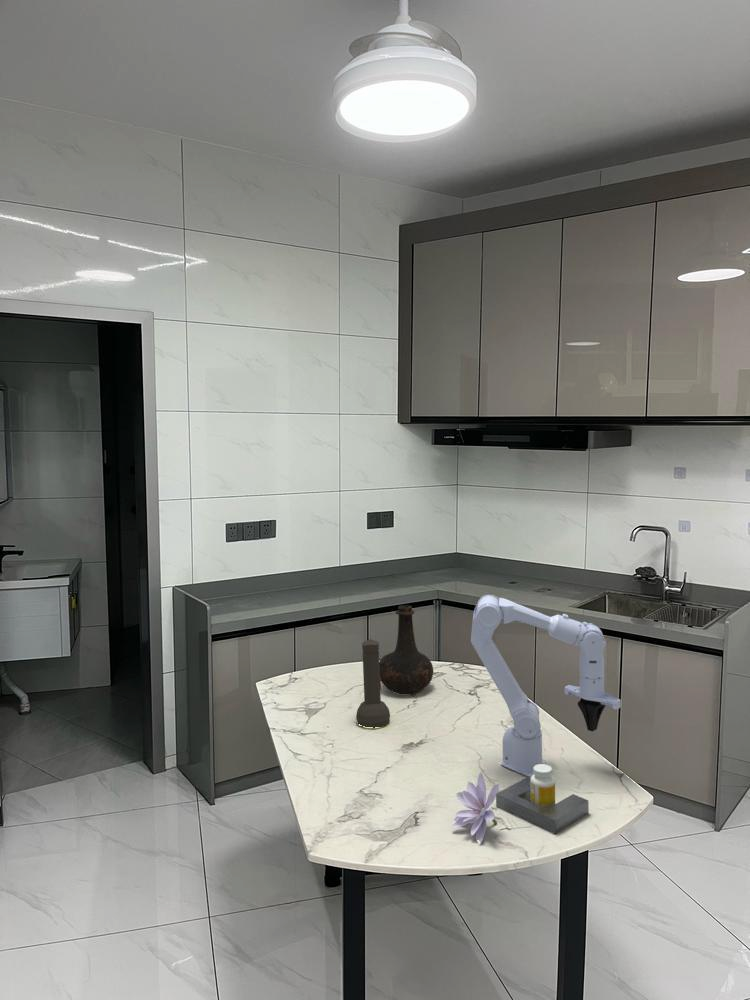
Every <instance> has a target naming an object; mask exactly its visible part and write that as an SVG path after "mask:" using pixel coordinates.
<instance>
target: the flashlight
mask: <svg viewBox="0 0 750 1000" xmlns="http://www.w3.org/2000/svg"><path fill="white" fill-rule="evenodd" d="M361 646H362V648H361V649H362V669H363V670H362V674H363V693H364V694H363V696H364V697H363V698H364V699H363V700H364V701H361V703H360V705H359V706H358V708H357V710H356V715H355V719H356V722H358V724H360V725H362V726H365V727H373V728H375V727H382V726H385V727H387V726H388V725H389V724H390V718H391V713H390V709H389V707H388V706H387V704H386V703H385V702H384V701H383V700H381V697H382V695H381V694H382V693H381V688H382V682H381V678H380V667H379V662H380V651H379V650H380V648H379V647H380V646H379V641H377V640H374V639H371V638H369V639H368V640H365V641H363V642H362V644H361ZM358 724H357V725H358ZM387 724H388V725H387ZM386 725H387V726H386ZM382 728H383V727H382Z"/></svg>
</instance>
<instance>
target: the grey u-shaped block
mask: <svg viewBox="0 0 750 1000" xmlns="http://www.w3.org/2000/svg"><path fill="white" fill-rule="evenodd" d="M530 779H531V776H529V777H528V776H526V777H525V778H523V779H521V780H519V781H518V782H515V783H513V784H511V785H509V786H508V787H506V788H504V789H502V790H500V791H498V792H497V795H496V797H495V801H496V802H495V806H496V807H497V808H498V809H500V810H503V811H505V812H507V813H510V814H512V815H514V816H516V817H518V818H520V819H523V820H525V821H526V822H528V823H530V824H533V825H535V826H537V827H538V828H539V827H540V828H541V829H543V830H546V831H548V832H549V833H552V834H554V835H556V834H558V833H559V832H561V831H563V830H565V829H566V828H568V827H570V826H571V825H573V824H574V823H576V822H577V821H579V820H580V819H582V818H584V817H585V816H587V815H588V814H589V810H590V807H589V800H588V799H586V798H583V797H582V796H579V795H576V794H575V793H572V794H571V795H569V796H567V797H565V798H563V799H562V800H560V801H559V802H556V803H555V805H553V806H551V807H550V808H548V809H545V808H543V807H541V806H538V805H536V804H534V803H532V802H531V799H530V798H531V795H530Z"/></svg>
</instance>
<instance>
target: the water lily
mask: <svg viewBox="0 0 750 1000" xmlns="http://www.w3.org/2000/svg"><path fill="white" fill-rule="evenodd" d="M476 784H477V785H476ZM476 784H474V783H473V782H472V781H468V782H467V783H466V790H463V791H462V792H461V791H460V792H459V791H458V792H457V793H456V798H457V799H456V800H458V801H459V803H460V804H461V805H463V806H464V807H466V808H468V809H463V810H458V811H457V812H455V814H454V816H456V817H455V818H454V819H453V821H456V822H455V823H453V824H452V826H451V828H452V829H457V828H461V827H464V826H468V825H469V824H470V823H472V822H474V821H475V822H474V823H473V824H472V827H471V829H470V835H471V836H474V835H475V841H476V842H477V840H479V841H480V845H481V844H482V843H483V839H484V837H485V834H486V829H487V822H492V823H493V824H494V825H497V823H498V821H497V820H496V819H495V812H494V811H493V810H492V809H489V808H490V806H491V805H492V804H493V803H494V801H495V800H496V795H497V793H498V792H499V791H498V790H499V788H500V783H496V784H495V785H493V787H492V788H491V789H490V791H489V793H488V795H487V786H486V781H485V777H484V775H483V772H482V771H480V772H479V774H478V777H477V783H476Z"/></svg>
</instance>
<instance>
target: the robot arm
mask: <svg viewBox="0 0 750 1000" xmlns="http://www.w3.org/2000/svg"><path fill="white" fill-rule="evenodd" d="M472 616H473V617H472V621H471V634H470V635H471V636H470V642H471V644H472V647H473V648H474V650H475V652H476V653H477V655H478V656H479V658H480V661H482V662H481V663H482V664H483V665H484V668H485V669H486V670H487V672H488V674H489V676H490V678H491V679H492V681H493V683H494V684H495V686H496V687H497V689H498V691H499V693H500V695H501V696H502V698H503V700H504V702H505V704H506V705H507V708H508V712H509V713H510V716H511V718H512V720H513V727H512V726H511V727H509V728H507V729H506V730H505V731H504V734H503V736H502V761H501V763H500V765H501V766H502V767H505V768H507V769H509V770H511V771H514V772H516V773H519V774H521V775H524V776H525V777H529V776H532V775H533V774H534V773H533V768H534V766H535V765H538V764H545V765H549V766H550V764H549V763H548V764H547V763H546V762H543V731H542V730H541V721H540V709H539V707H538V705H537V704H536V703H535V702H533V701H531V700H530V699H529V697H528V696H527V694H526V693H525V692H523V690H522V689H521V686H520V685H519V683H518V681H517V680H516V679H515V676H514V674H513V673H512V671H511V669H510V668H509V666H508V665H507V662H506V661H505V658H503V656H502V654H501V652H500V651H499V649H498V647H497V645H496V643H495V642H494V640H493V639H492V638H493V635H494V632H495V630H496V629H497V628H498V626H499V625H500V623H501V621H502V620H503V625H506V624H509V623H511V622H514V621H516V622H520V623H524V624H527V625H529V626H532V627H537V628H539V629H543V630H545V631H547V633H548V636H550V637H551V638H554V639H556V640H559V641H561V642H565V643H566V644H569V645H572V646H575V647H578V646H579V647H580V650H579V651H580V654H579V658H578V659H579V686H575V685H571V684H568V685H566V686H564V695H567V696H570V695H571V696H572V697H577V698H580V699H579V701H578V702H577V706H578V707H579V710H580V711H581V713H582V716H583V719H584V721H585V726H586V729H587V731H589V732H594V731H597V729H598V726H599V721H600V718H601V716H602V713H603V711H604V710H605V708H606V706H607V707H611V708H612V709H613V710H619V709H621V708H622V703H621V702H622V700H621V699H620V698H617V697H615V696H613V695H611V694H609V693H606V692H605V657H604V650H605V648H606V645H607V642H606V640H605V636H604V634H603V631H602V630H601V629H600V627H598V626H597V625H595V624H594V623H591V622H589V623H588V622H586V621H583V622H581V621H578V620H576V619H573V618H569V614H565V613H563V614H555V615H553V616H549V615H547V614H543V613H541V612H538V611H536V610H534V609H532V608H530V607H526V606H524V605H522V604H518V603H517V602H514V601H512V600H509V599H507V598H503V597H497V596H495V595H494V594H486V595H483V596H481V597H480V598H479V600H478V601H477V603H476V605H475V607H474V611H473V615H472ZM550 767H551V766H550Z"/></svg>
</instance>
